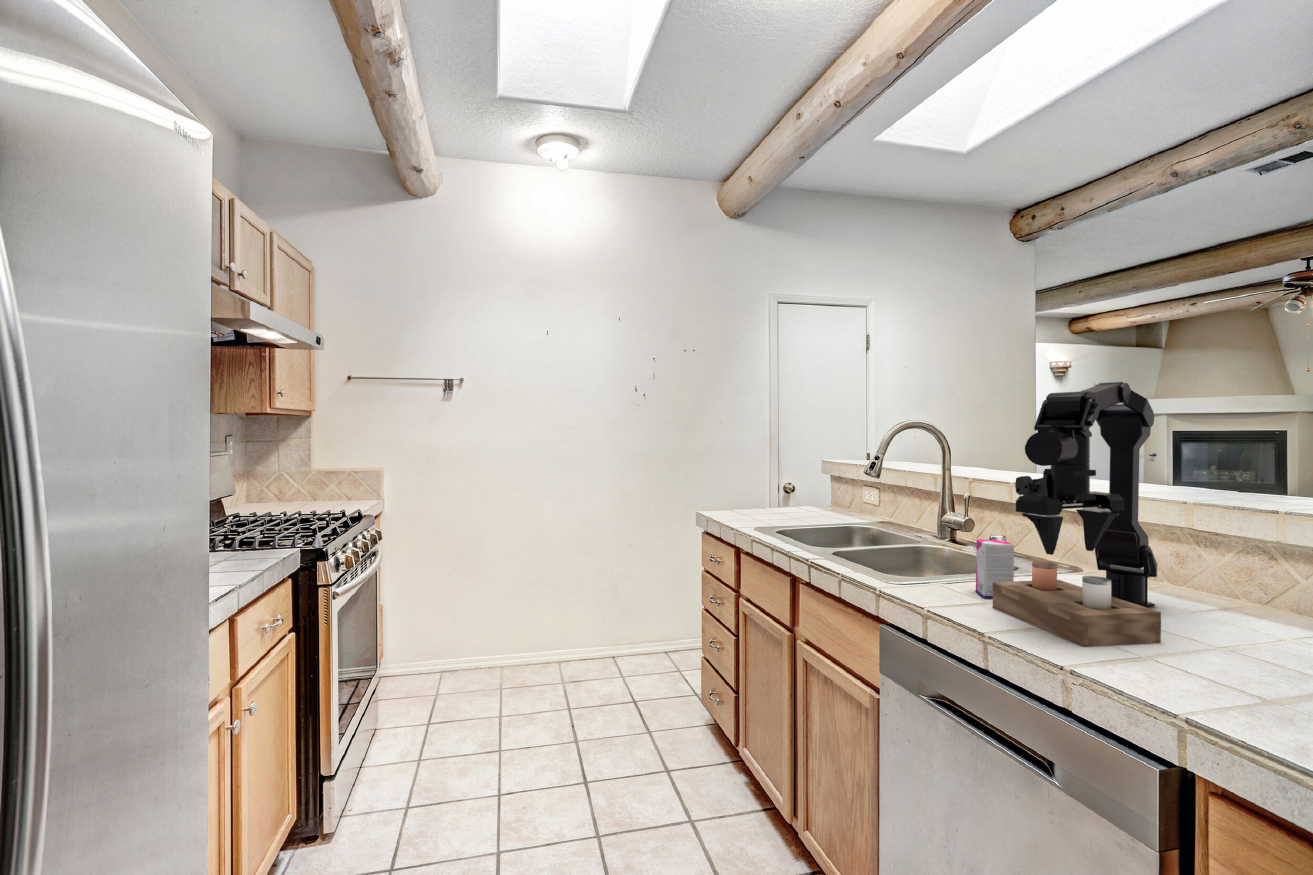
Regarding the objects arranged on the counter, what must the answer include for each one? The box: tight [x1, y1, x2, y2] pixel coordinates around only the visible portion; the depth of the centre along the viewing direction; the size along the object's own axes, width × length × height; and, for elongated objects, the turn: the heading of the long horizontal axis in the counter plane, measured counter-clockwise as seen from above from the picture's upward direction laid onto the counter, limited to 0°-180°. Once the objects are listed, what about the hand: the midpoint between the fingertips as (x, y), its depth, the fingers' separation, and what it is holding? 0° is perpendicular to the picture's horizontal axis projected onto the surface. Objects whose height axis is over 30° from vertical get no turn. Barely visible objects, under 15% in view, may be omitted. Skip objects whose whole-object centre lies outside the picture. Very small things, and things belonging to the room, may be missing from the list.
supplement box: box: [975, 538, 1015, 600], centre depth 130 cm, size 6×6×12 cm
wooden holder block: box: [992, 579, 1162, 648], centre depth 111 cm, size 14×22×5 cm, turn 7°
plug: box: [1081, 575, 1111, 610], centre depth 105 cm, size 4×4×6 cm
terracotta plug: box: [1031, 560, 1058, 591], centre depth 117 cm, size 4×4×6 cm
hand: (1069, 552), depth 108 cm, fingers open, 9 cm apart
